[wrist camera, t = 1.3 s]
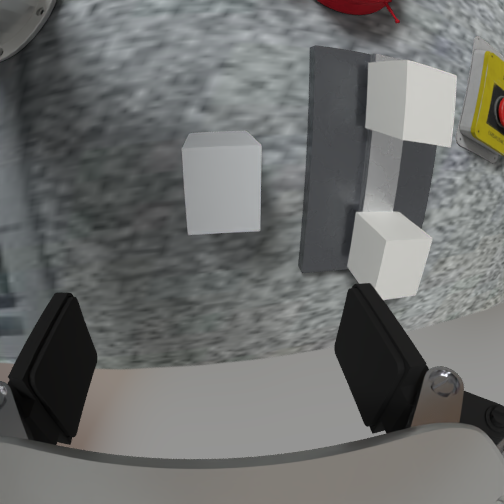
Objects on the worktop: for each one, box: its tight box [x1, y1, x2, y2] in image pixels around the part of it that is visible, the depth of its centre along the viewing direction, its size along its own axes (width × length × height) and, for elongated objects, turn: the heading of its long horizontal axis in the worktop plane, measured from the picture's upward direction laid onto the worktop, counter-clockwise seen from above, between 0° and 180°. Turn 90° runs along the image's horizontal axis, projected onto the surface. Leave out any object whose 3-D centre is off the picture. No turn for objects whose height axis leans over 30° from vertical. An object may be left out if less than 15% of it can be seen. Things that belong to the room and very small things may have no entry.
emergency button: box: [456, 36, 504, 163], centre depth 24 cm, size 9×4×15 cm
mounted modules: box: [347, 60, 457, 300], centre depth 24 cm, size 20×5×6 cm, turn 0°
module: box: [182, 131, 262, 235], centre depth 24 cm, size 6×5×8 cm
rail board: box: [298, 46, 437, 274], centre depth 28 cm, size 22×14×2 cm, turn 0°
